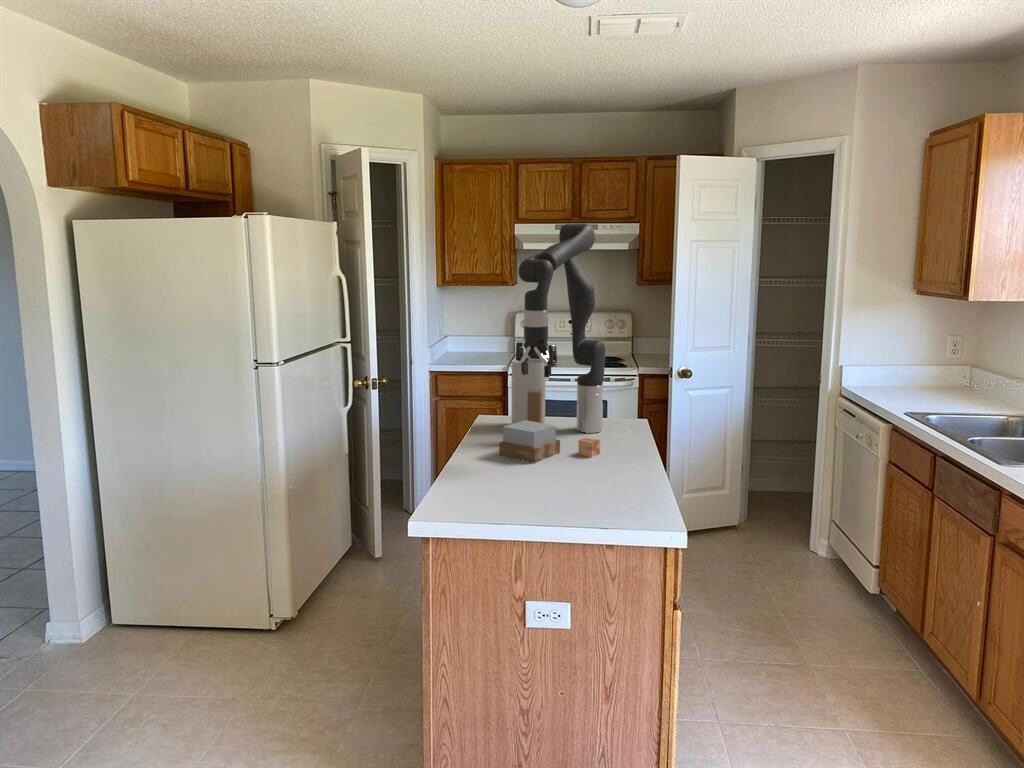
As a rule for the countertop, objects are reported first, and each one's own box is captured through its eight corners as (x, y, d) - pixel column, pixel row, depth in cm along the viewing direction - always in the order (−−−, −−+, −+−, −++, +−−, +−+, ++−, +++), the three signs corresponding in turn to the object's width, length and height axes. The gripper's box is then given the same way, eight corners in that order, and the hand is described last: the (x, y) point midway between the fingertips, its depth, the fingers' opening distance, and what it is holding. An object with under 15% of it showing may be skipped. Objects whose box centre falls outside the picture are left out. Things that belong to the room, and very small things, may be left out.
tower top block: (525, 434, 246) (525, 420, 245) (555, 440, 239) (555, 425, 238) (503, 441, 236) (503, 426, 236) (533, 447, 229) (534, 432, 228)
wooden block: (554, 441, 255) (555, 390, 252) (553, 444, 251) (553, 392, 248) (529, 440, 257) (529, 389, 253) (527, 443, 252) (527, 391, 249)
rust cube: (586, 451, 242) (586, 437, 241) (599, 454, 239) (600, 439, 238) (578, 455, 238) (578, 440, 237) (591, 457, 235) (592, 442, 235)
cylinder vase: (550, 425, 278) (551, 360, 274) (534, 432, 268) (534, 364, 263) (522, 421, 285) (522, 357, 280) (505, 428, 274) (505, 361, 270)
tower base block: (524, 448, 248) (524, 433, 247) (559, 455, 240) (560, 440, 239) (499, 457, 237) (499, 442, 236) (534, 464, 229) (535, 449, 228)
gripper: (561, 324, 228) (561, 376, 231) (524, 322, 236) (525, 371, 240) (547, 327, 222) (547, 380, 225) (510, 324, 231) (510, 375, 234)
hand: (536, 375), depth 232 cm, fingers open, 8 cm apart
